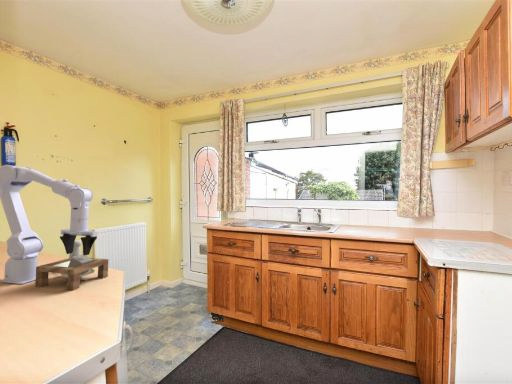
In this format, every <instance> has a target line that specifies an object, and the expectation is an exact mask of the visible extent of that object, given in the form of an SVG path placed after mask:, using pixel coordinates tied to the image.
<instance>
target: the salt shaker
mask: <svg viewBox="0 0 512 384" xmlns="http://www.w3.org/2000/svg"><path fill="white" fill-rule="evenodd" d="M81 246H83V244H82V241H81V239H75V242H74V248H73V253H70V254H68V258H72V257H75V256H78V255H82V254H83V253H82V250H81Z"/></svg>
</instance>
